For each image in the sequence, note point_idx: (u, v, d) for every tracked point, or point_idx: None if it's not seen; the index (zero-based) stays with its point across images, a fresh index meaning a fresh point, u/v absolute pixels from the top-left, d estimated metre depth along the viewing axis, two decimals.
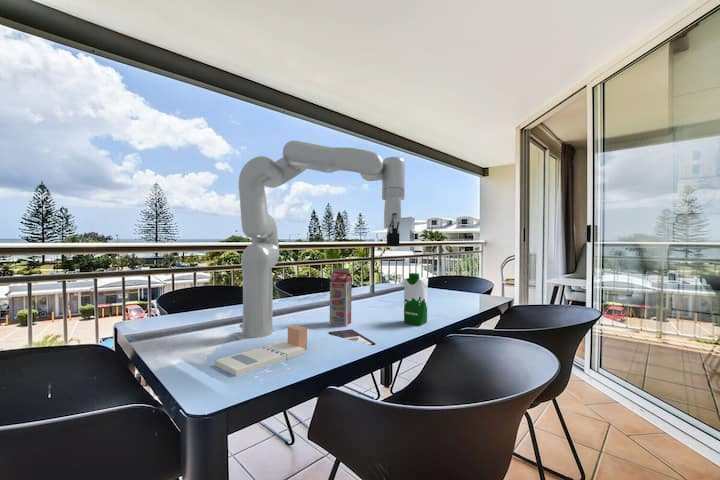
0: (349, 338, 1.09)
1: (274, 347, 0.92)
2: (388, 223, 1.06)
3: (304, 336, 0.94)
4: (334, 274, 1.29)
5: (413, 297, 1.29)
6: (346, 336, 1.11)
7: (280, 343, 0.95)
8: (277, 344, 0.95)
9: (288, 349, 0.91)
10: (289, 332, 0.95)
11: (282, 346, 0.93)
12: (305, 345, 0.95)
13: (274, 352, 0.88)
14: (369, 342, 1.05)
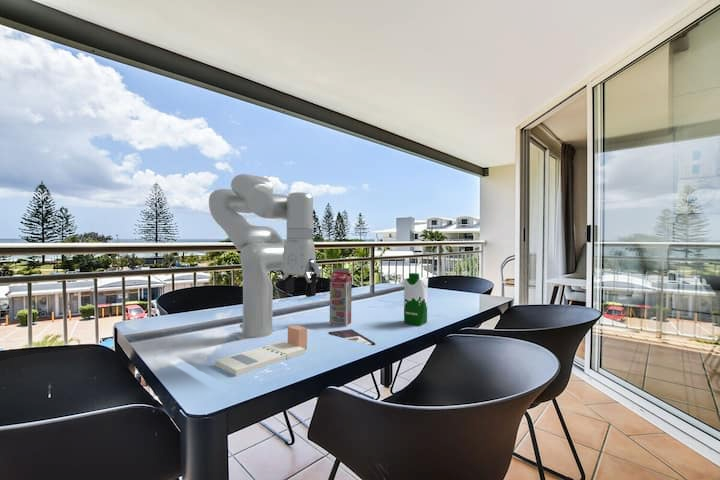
0: (349, 338, 1.09)
1: (274, 347, 0.92)
2: (305, 271, 0.91)
3: (304, 336, 0.94)
4: (334, 274, 1.29)
5: (413, 297, 1.29)
6: (346, 336, 1.11)
7: (280, 343, 0.95)
8: (277, 344, 0.95)
9: (288, 349, 0.91)
10: (289, 332, 0.95)
11: (282, 346, 0.93)
12: (305, 345, 0.95)
13: (274, 352, 0.88)
14: (369, 342, 1.05)
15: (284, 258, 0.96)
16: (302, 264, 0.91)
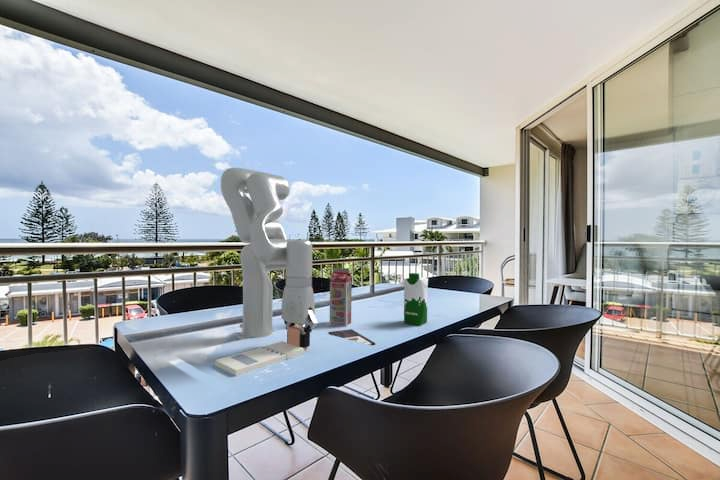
0: (349, 338, 1.09)
1: (274, 347, 0.92)
2: (304, 320, 0.91)
3: None
4: (334, 274, 1.29)
5: (413, 297, 1.29)
6: (346, 336, 1.11)
7: (280, 343, 0.95)
8: (277, 344, 0.95)
9: (288, 349, 0.91)
10: (289, 332, 0.95)
11: (282, 346, 0.93)
12: None
13: (274, 352, 0.88)
14: (369, 342, 1.05)
15: (283, 305, 0.96)
16: (301, 313, 0.91)
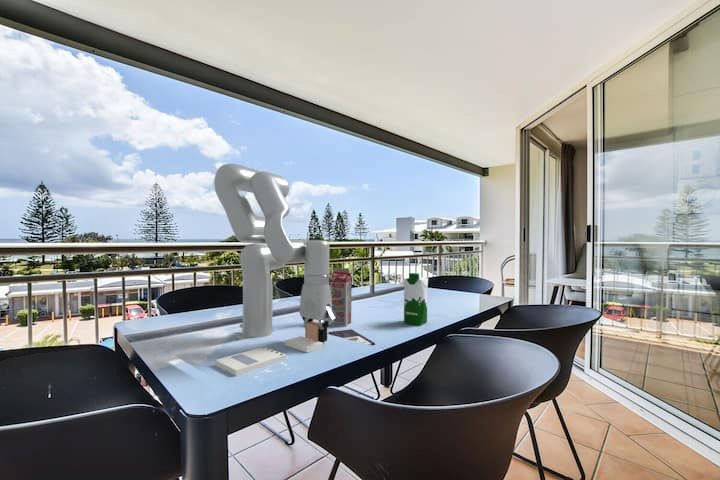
0: (349, 338, 1.09)
1: (294, 341, 0.98)
2: (323, 316, 0.97)
3: None
4: (334, 274, 1.29)
5: (413, 297, 1.29)
6: (346, 336, 1.11)
7: (299, 338, 1.01)
8: (296, 339, 1.00)
9: (307, 343, 0.96)
10: (308, 327, 1.01)
11: (302, 341, 0.98)
12: None
13: (274, 352, 0.88)
14: (369, 342, 1.05)
15: (302, 301, 1.02)
16: (320, 310, 0.97)
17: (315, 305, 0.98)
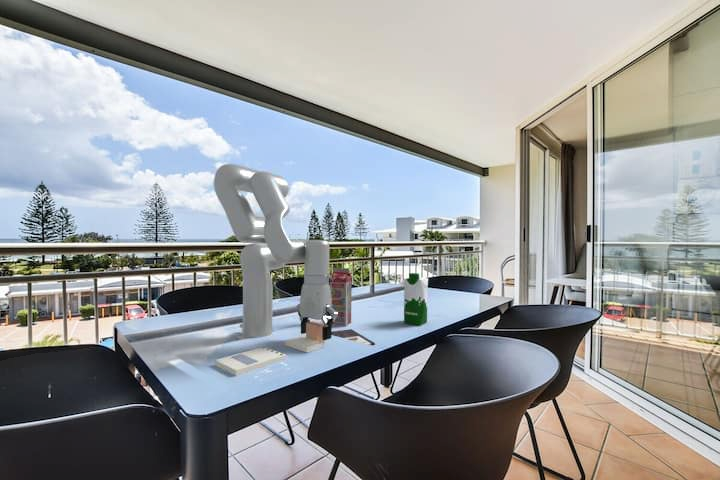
0: (348, 338, 1.09)
1: (294, 341, 0.98)
2: (322, 316, 0.97)
3: None
4: (334, 274, 1.29)
5: (413, 297, 1.29)
6: (345, 336, 1.11)
7: (299, 338, 1.01)
8: (296, 339, 1.00)
9: (307, 343, 0.96)
10: (308, 327, 1.01)
11: (302, 341, 0.98)
12: (323, 340, 1.00)
13: (274, 352, 0.88)
14: (368, 342, 1.05)
15: (301, 301, 1.02)
16: (319, 309, 0.97)
17: (315, 305, 0.98)
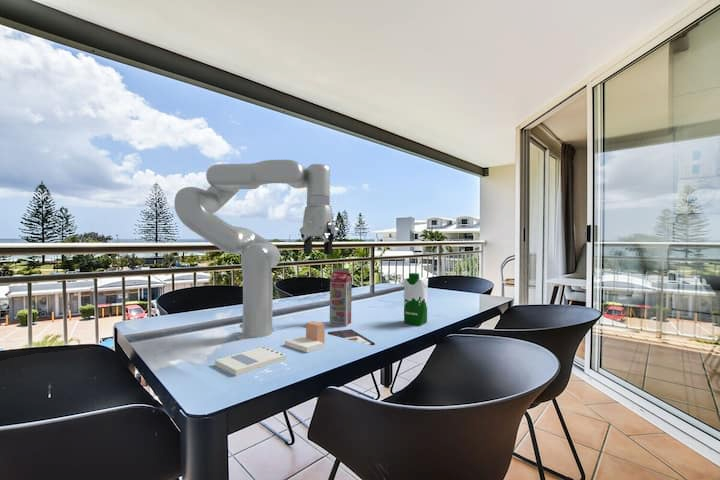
0: (348, 338, 1.09)
1: (294, 341, 0.98)
2: (324, 231, 1.05)
3: (322, 331, 1.00)
4: (334, 274, 1.29)
5: (413, 297, 1.29)
6: (345, 336, 1.11)
7: (299, 338, 1.01)
8: (296, 339, 1.00)
9: (307, 343, 0.96)
10: (308, 327, 1.01)
11: (302, 341, 0.98)
12: (323, 340, 1.00)
13: (274, 352, 0.88)
14: (368, 342, 1.05)
15: (304, 222, 1.10)
16: (321, 225, 1.05)
17: (317, 222, 1.06)
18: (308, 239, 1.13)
